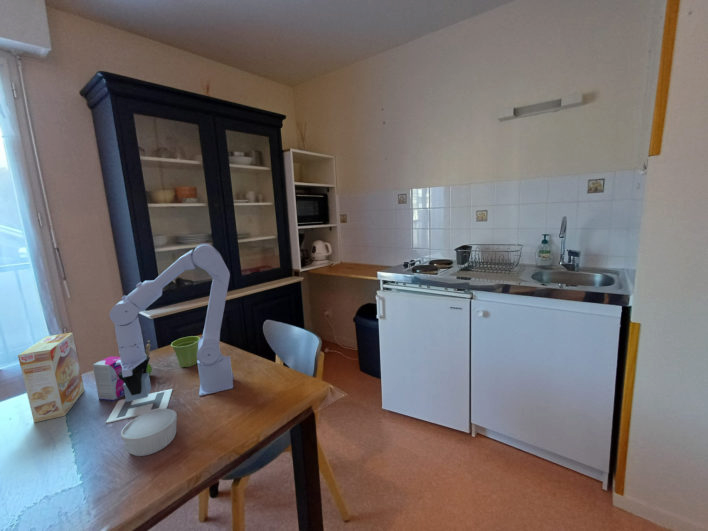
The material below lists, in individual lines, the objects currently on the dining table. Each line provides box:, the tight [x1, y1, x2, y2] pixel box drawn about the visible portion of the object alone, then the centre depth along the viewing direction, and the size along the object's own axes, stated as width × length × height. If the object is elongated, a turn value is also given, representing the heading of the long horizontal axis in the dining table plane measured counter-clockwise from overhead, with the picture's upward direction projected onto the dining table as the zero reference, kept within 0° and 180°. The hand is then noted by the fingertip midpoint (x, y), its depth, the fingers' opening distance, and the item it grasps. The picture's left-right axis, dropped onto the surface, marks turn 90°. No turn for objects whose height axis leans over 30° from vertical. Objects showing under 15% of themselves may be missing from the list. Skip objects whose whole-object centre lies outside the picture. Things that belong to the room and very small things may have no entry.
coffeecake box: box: [17, 332, 86, 423], centre depth 92 cm, size 15×7×20 cm, turn 23°
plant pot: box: [170, 335, 201, 368], centre depth 116 cm, size 9×9×9 cm
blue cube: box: [123, 373, 152, 402], centre depth 90 cm, size 5×5×5 cm
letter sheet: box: [105, 388, 173, 424], centre depth 92 cm, size 14×11×1 cm
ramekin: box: [120, 408, 178, 457], centre depth 76 cm, size 11×11×5 cm
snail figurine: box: [145, 340, 153, 376], centre depth 107 cm, size 5×6×12 cm
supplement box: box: [92, 355, 125, 402], centre depth 97 cm, size 6×6×12 cm
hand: (138, 388), depth 91 cm, fingers closed on blue cube, 5 cm apart
